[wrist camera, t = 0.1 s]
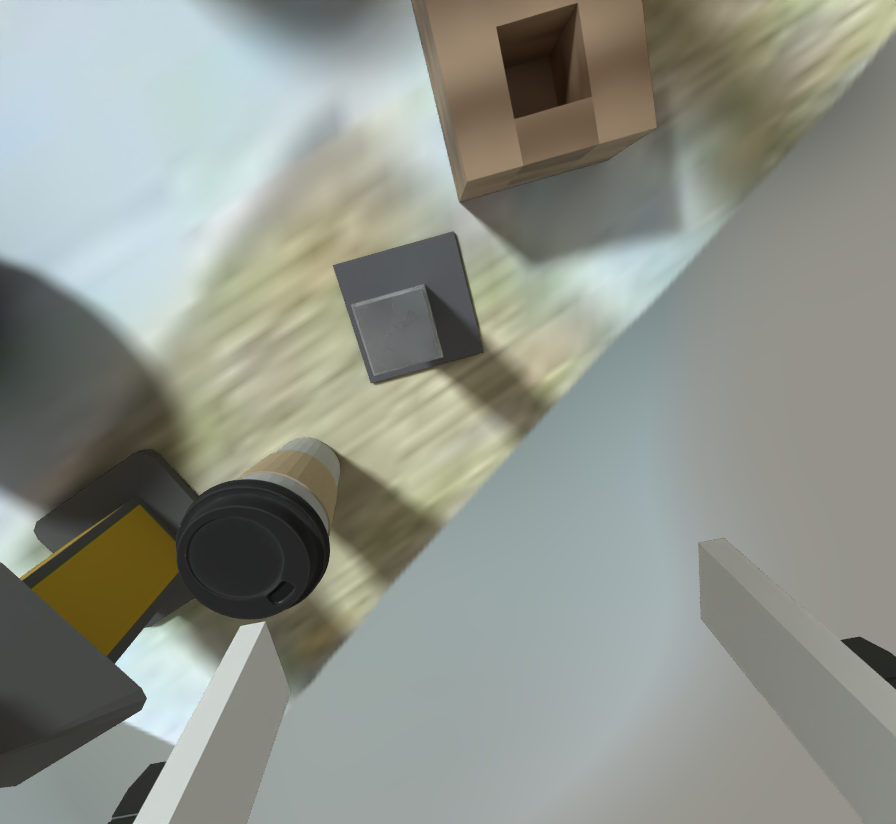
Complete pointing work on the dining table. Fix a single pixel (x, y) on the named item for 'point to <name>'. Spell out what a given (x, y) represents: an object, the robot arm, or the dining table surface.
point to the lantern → (87, 612)
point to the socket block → (535, 85)
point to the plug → (398, 329)
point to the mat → (411, 268)
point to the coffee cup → (262, 533)
